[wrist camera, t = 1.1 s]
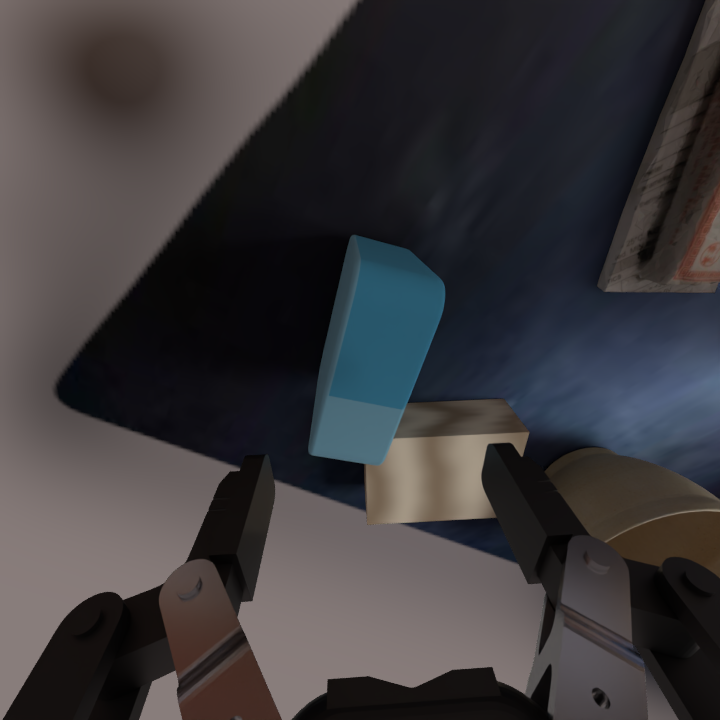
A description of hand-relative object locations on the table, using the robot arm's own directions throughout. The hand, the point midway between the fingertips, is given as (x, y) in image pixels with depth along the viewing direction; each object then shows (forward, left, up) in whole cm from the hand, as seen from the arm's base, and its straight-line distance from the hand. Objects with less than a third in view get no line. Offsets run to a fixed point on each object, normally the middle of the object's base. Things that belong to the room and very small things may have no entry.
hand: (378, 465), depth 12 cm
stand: (-7, +15, -17) cm, 24 cm away
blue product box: (0, 0, -17) cm, 17 cm away
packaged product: (-25, -10, -18) cm, 32 cm away
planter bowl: (-25, +21, -17) cm, 37 cm away
